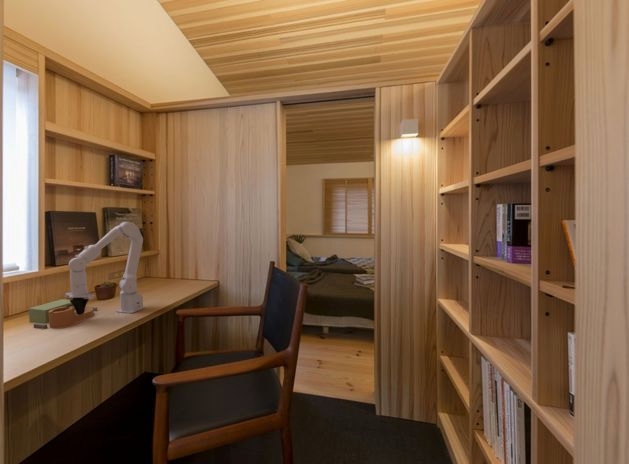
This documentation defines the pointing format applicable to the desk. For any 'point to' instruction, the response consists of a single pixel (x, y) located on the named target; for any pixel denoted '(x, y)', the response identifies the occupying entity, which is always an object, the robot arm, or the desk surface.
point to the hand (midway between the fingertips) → (80, 313)
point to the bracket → (67, 316)
